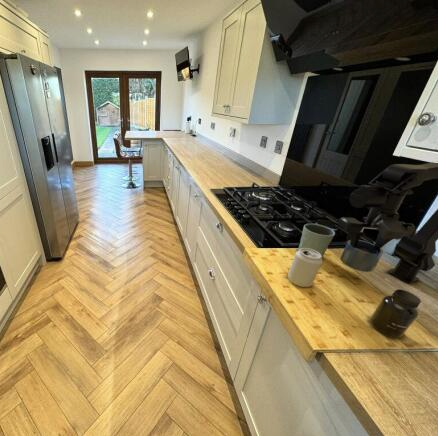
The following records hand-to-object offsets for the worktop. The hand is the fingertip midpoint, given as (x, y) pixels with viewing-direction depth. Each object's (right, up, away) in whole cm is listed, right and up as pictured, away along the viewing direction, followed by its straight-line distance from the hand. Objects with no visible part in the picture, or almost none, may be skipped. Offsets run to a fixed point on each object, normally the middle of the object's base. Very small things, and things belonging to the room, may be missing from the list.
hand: (364, 248), depth 80 cm
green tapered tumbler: (-7, -5, +18) cm, 19 cm away
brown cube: (0, -5, +2) cm, 6 cm away
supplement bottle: (-8, -20, -14) cm, 26 cm away
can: (-21, -12, +2) cm, 24 cm away
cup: (0, -6, +3) cm, 6 cm away
